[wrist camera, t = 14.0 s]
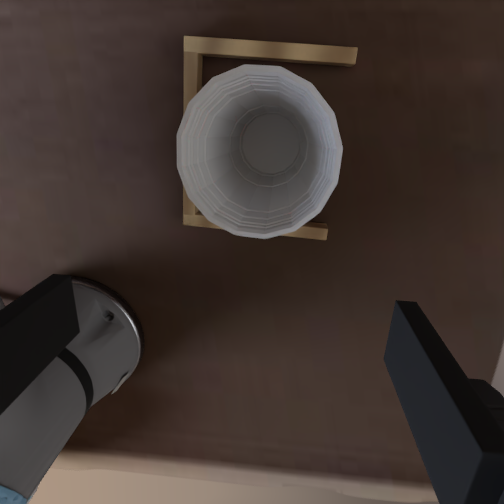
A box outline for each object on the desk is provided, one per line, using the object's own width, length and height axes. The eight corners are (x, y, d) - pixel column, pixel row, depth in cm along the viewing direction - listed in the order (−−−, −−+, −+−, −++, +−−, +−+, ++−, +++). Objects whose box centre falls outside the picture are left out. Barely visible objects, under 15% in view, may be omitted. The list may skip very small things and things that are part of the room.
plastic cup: (226, 64, 31) (188, 38, 20) (344, 98, 31) (371, 91, 20) (201, 182, 36) (158, 215, 24) (305, 213, 36) (309, 259, 24)
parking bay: (187, 219, 37) (182, 225, 36) (189, 39, 31) (183, 35, 29) (324, 234, 36) (326, 240, 34) (354, 50, 30) (358, 47, 28)
